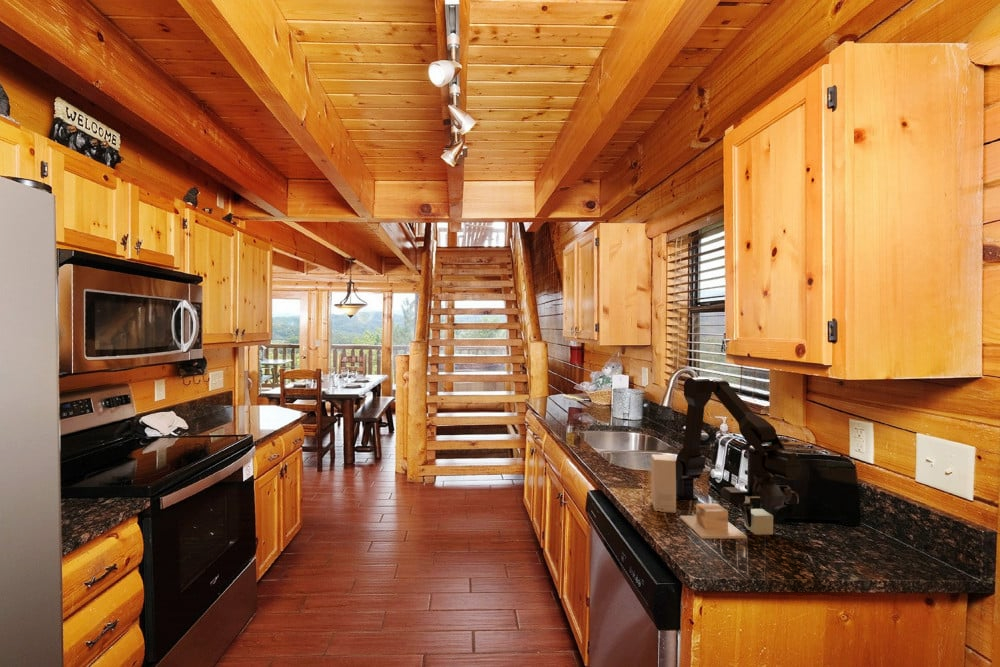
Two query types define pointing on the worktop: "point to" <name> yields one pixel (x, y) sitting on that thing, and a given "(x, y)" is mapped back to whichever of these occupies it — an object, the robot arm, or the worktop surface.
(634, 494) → the worktop surface
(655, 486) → the skincare box
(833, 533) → the worktop surface
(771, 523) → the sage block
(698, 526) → the baseplate
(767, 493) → the robot arm
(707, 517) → the maple block
